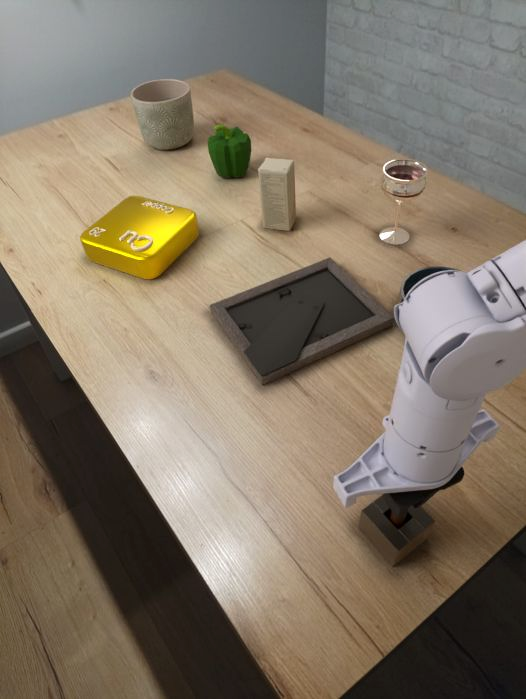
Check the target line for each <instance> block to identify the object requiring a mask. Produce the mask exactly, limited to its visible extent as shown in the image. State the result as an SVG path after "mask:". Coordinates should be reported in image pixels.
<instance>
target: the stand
mask: <svg viewBox="0 0 526 699" xmlns="http://www.w3.org/2000/svg"><path fill="white" fill-rule="evenodd" d="M391 512H392V510H391V509H390V507H389V506H388V504H387V503H386V501H385V498H384V494H380V496H379V497H377V498H376V499H374V500H373V501H372V502H370V503H369V504H368V505H367V506H365V507H364V508H362V509H361V511H360V516H359V520H358V525H357V528H358V530H360V531H361V533H362V534H363V535H364V536H365V538H366V539H367V540H368V541H369V542H370V543H371V544H372V546H373V547H374V548H375V549H376V550H377V552H379V554H380V555H381V556H382V557H383V558H384V560H386V562H387V563H388V564H389V565H390V566H391V567H392V568H393V567H394V566H396V565H397V564H398V563H399V562H400V561H401V560H403V559H405V557H407V555H409V554H410V553H411V552H412V551H414V550H415V549H416V548H417V547H419V546H420V545H421V544H422V543H423V542H424V541H426V540H427V539H428V538H429V536H430V534H431V531H432V530H433V527H434V525H435V523H436V520H435V519H434V518H433V517H432V515H430V514H429V513H428V512H427V511H426V510H425V509H424V508H423V506H420V507H418V508H416V509H415V508H414V507H413V506H410V507H409V510H408V513H407V516H406V519H405V521H404V524H403V526H402V527H401V528H400V529H397V528H396V527H395V526H394V525H393V524H392V523H391V522H390V521H389V519H390V516H391Z"/></svg>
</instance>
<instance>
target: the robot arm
mask: <svg viewBox="0 0 526 699" xmlns="http://www.w3.org/2000/svg"><path fill="white" fill-rule="evenodd" d="M458 270H459V269H458ZM458 270H447V271H440V272H437V273H434V274H431V275H429V276H427V277H425V278H424V279H422V280H421V281H419V282H418V283H417V284H415V285H414V286H413V287H412V288H411V290H410V291H409V292H408V294H407V295H406V297H405V299H404V301H403V302H402V303H400V304H398V303H397V304H395V305H394V307H393V317H394V321H395V322H396V325H397V326H398V328H399V330H400V331H401V332H402V333H403V334H404V336H405V339H404V344H403V352H402V356H401V362H400V365H399V369H398V374H397V380H396V383H395V388H394V393H393V397H392V402H391V407H390V411H389V414H387V415H385V416H384V417H383V419H382V423H381V424H382V428H383V429H384V432H383V433H382V434H381V435H380V436H379V437H378V438H376V440H375V441H374V442H373V443H372V444H371V445H370V446H369V447H368V448H367V449H366V450H365V451H364V452H363V453H362V454H361V455H360V456H359V457H358V458H357V459H356V460H355V461H354V462H353V463H352V464H351V465H349V467H347V468H346V469H345V470H343V471H341V472H340V473H337V474H335V475H334V477H333V485H332V488H333V490H334V492H335V494H336V496H337V497H338V499H339V501H340V502H341V504H342V505H343V507H344V508H345V509H347V508H350V507H352V506H353V505H355V504H356V503H357V499H358V498H360V497H364V496H372V495H383V494H384V498H385V501H386V503H387V504H388V506H389V507H390V509H391V510H392V512H393V514H394V515H395V517H399V516H401V515H403V514H405V513H406V512H407V511H408V509H409V507H410V506H413V507H414V508H415V509H416V508H418V507H420V506H421V507H423V505H425V504H426V503H427V502H428V501H429V500H430V499H431V498H432V497H433V496H435V495H436V494H437V493H438V492H440V491H444V490H446V489H448V488H451V487H453V486H455V485H457V484H459V483H461V482H462V481H463V479H464V477H465V470H464V467H463V466H464V464H465V463H466V462H467V461H468V460H469V459H470V457H471V456H472V455H473V454H474V453H475V452H476V450H477V449H478V448H479V447H480V445H482V443H488V442H490V441H492V440H494V439H495V438H496V435H497V433H498V431H499V430H500V427H501V425H500V424H499V423H498V421H496V420H495V418H494V417H492V415H491V414H490V413H489V412H488V411H487V410H486V409H485V408H482V409H481V407H482V405H483V403H484V401H485V399H486V396H487V395H488V394H490V393H493V392H496V391H498V390H500V389H503V388H505V387H506V386H508V385H509V384H511V383H512V382H513V381H514V380H515V379H516V378H518V377H519V376H520V375H521V374H522V373H523V371H524V370H525V369H526V239H524V240H523V241H521V242H519V243H518V244H515V245H513V246H512V247H510V248H509V249H506V250H505V251H503V252H502V253H500V254H498V255H496V256H494V257H493V258H491V259H489V260H487V261H485V262H484V263H482V264H480V265H478V266H477V267H475V268H472V269H471V270H470V271H463V272H462V270H460V271H458Z"/></svg>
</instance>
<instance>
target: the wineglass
mask: <svg viewBox="0 0 526 699" xmlns="http://www.w3.org/2000/svg"><path fill="white" fill-rule="evenodd" d="M382 171H383V174H382V175H381V179H380V185H381V186H380V187H381V191H382V193H383V194H384V195H385V196H386V197H387V199H389V200H390V201H391V202H394V203H396V211H395V212H396V213H395V220H394V226H391V227H385V228H384V229H382V230H380V232H379V238H380V239H381V241H382V242H384V243H386V244H390V245H394V246H395V245H397V246H398V245H403V244H406V243H407V242H408V241H409V240H410V238H411V237H410V234H409V232H408V231H407V230H406V229H403V228H402V227H398V225H399V220H400V218H401V212H402V207H403V205H404V204H407V203H411V202H413V201H414V200H416V199H417V198H419V197H420V196H421V194H422V193H423V192H424V190H425V188H426V185H427V181H426V180H427V179H426V178H427V177H426V176H427V174H428V172H429V171H428V167H427V166H426V164H424V163H422V162H420V161H419V160H415V159H411V158H398V159H392V160H389V161H388V162H386V163H385V164H384V165H383V167H382Z"/></svg>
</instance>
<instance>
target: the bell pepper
mask: <svg viewBox="0 0 526 699" xmlns="http://www.w3.org/2000/svg"><path fill="white" fill-rule="evenodd" d="M213 129H214V131H215V133H214V135H211V136H208V139H207V142H206V144H207V151H208V155H209V157H210V160H211V163H212V166H213V169H214V170H215V172H216V174H217V175H218V176H219V177H220V178H222V179H230V178H232V177H234V178H241V177H243V176H245V175H246V174H247V172H248V170H249V167H250V163H251V157H252V156H251V155H252V140H251V137H250V136H249V134H248V133H247V132H246V133H244V131H243V130H242V129H241V128H240V127H238V126H235V127H232V128H230V129H229V127H228V126H226V125H224V124H218V125H216V126H214V127H213Z"/></svg>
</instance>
